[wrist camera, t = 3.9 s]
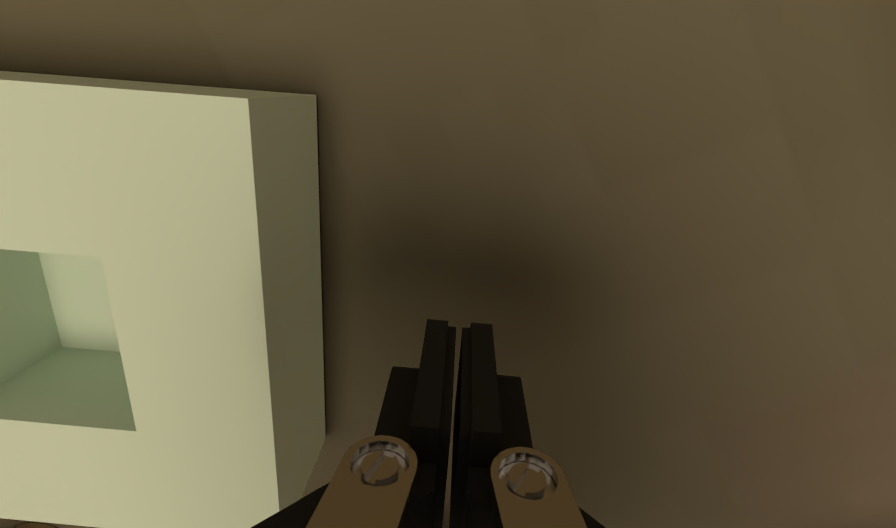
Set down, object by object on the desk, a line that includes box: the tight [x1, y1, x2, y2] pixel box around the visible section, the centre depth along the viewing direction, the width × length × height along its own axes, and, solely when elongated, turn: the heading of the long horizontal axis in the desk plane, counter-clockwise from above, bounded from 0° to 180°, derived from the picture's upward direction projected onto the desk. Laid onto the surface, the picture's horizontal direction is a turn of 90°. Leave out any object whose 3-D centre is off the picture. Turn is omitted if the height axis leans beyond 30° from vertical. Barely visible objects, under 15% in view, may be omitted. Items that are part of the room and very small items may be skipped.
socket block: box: [0, 71, 326, 528], centre depth 16 cm, size 14×14×5 cm
